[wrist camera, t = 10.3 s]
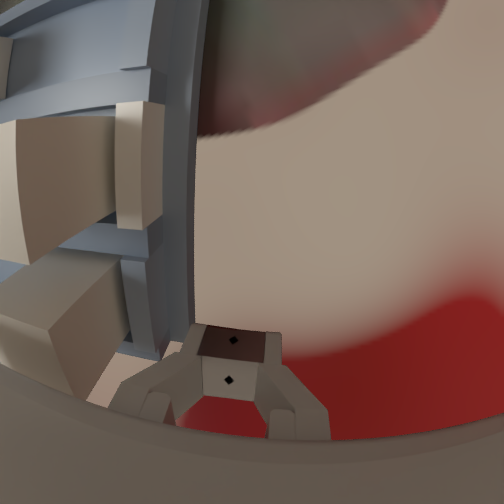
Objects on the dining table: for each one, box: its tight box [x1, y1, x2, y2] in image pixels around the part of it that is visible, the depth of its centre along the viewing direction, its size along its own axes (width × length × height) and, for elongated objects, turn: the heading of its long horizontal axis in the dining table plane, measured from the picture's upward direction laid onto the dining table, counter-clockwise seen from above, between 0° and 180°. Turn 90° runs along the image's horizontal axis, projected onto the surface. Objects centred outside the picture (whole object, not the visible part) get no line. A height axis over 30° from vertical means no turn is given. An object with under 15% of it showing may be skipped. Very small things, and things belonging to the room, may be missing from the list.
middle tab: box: [0, 116, 116, 265], centre depth 8 cm, size 4×4×6 cm
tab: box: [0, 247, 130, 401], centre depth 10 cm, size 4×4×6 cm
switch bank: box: [0, 0, 209, 361], centre depth 11 cm, size 17×17×3 cm
